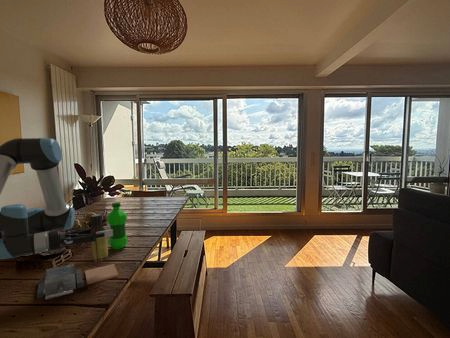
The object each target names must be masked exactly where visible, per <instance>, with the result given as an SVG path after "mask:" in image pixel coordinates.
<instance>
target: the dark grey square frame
mask: <svg viewBox="0 0 450 338" xmlns="http://www.w3.org/2000/svg"><path fill="white" fill-rule="evenodd" d="M82 273H83V272H82V268H77V269H75V263H74V262H73V263H70V264H64V265H59V266H57V267H51V268H46V270H45V276H43V277H39V281H38V286H37V292H36V297H37V299H38V300H39V299H41V298H45V300H51V299H54V298H55V299H56V298H58V297H62V296H65V295H69V294H73V293H74V290H76V289H79V288H80V289H81V288H83V287H84V280H83V274H82Z"/></svg>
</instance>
